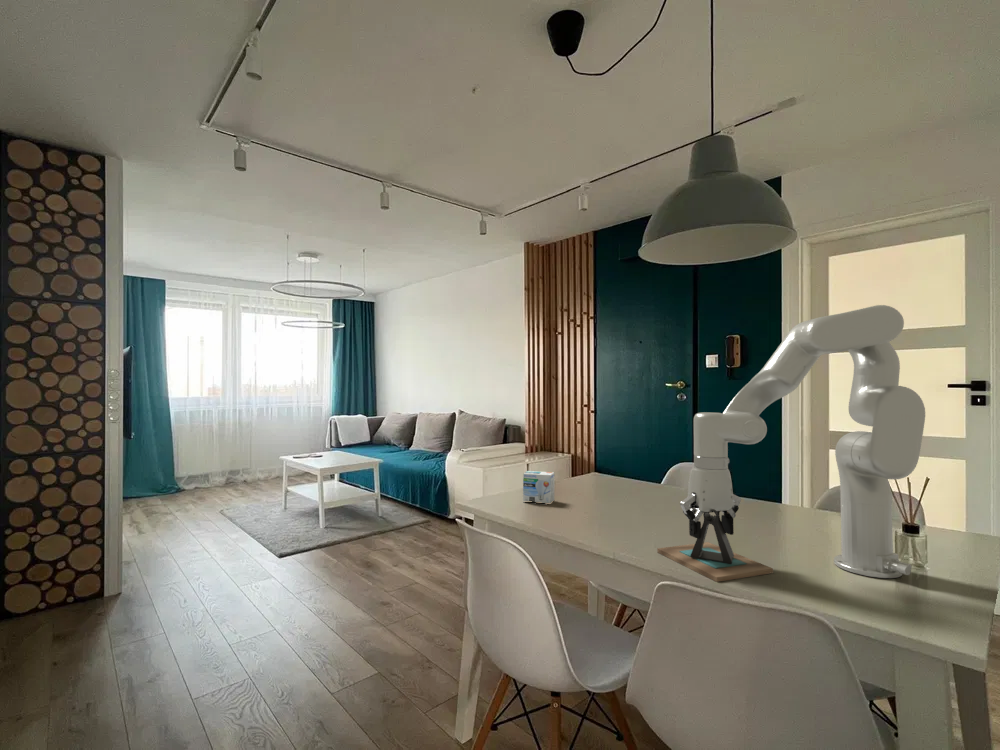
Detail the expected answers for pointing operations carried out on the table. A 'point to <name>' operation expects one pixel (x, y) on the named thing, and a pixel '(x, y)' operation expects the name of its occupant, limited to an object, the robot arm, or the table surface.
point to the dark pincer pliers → (723, 542)
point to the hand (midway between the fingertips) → (711, 535)
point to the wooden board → (715, 563)
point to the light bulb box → (538, 486)
